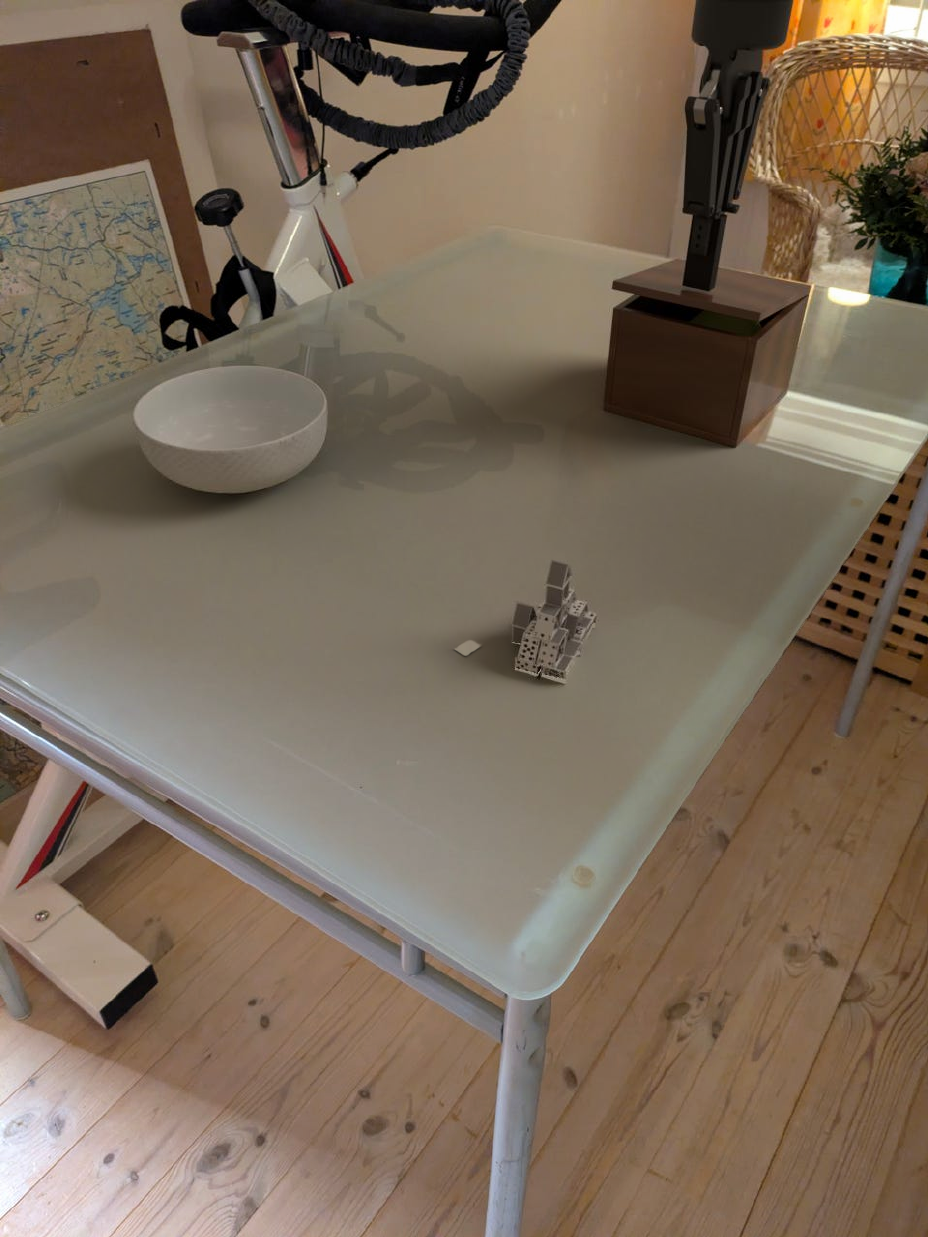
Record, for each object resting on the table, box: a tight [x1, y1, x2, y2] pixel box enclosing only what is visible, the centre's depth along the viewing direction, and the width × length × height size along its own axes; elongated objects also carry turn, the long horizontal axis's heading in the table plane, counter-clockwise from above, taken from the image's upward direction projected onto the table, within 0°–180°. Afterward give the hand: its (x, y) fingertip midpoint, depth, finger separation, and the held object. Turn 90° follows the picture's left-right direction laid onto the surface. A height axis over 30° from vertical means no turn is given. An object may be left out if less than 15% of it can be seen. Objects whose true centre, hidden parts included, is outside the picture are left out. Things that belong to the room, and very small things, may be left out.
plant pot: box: [690, 310, 762, 337], centre depth 97 cm, size 9×9×9 cm
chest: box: [602, 294, 810, 448], centre depth 97 cm, size 15×15×11 cm
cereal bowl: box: [132, 365, 329, 494], centre depth 87 cm, size 17×17×7 cm
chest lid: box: [611, 258, 812, 322], centre depth 93 cm, size 15×15×1 cm
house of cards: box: [510, 559, 598, 680], centre depth 68 cm, size 9×9×8 cm
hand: (698, 286), depth 90 cm, fingers closed
